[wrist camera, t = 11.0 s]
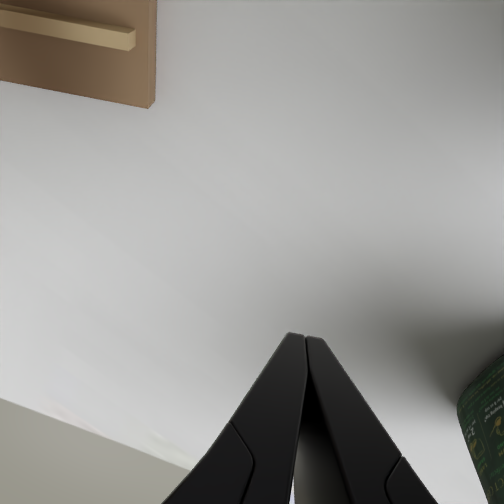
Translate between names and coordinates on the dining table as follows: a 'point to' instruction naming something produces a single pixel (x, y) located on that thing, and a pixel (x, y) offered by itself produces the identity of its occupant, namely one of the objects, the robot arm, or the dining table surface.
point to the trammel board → (81, 47)
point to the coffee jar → (486, 428)
